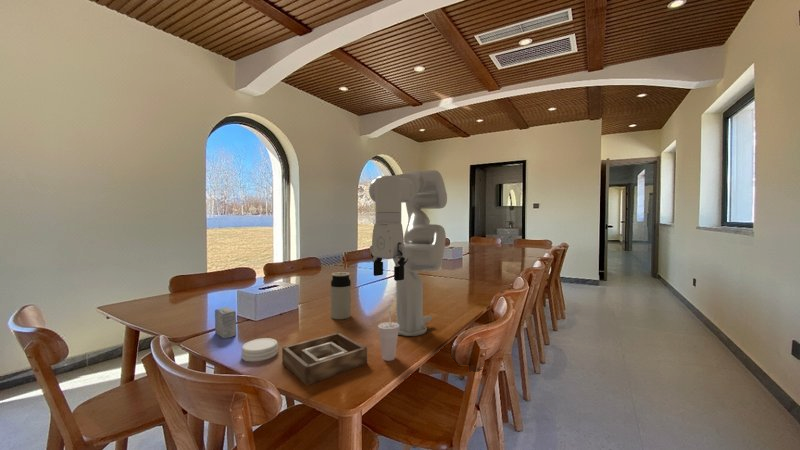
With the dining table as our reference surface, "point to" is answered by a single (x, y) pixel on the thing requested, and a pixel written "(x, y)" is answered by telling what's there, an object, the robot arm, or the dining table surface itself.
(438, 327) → the dining table surface
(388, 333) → the smoothie
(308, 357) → the walnut box
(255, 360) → the coaster
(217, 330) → the medicine box
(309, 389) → the dining table surface
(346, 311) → the travel mug
